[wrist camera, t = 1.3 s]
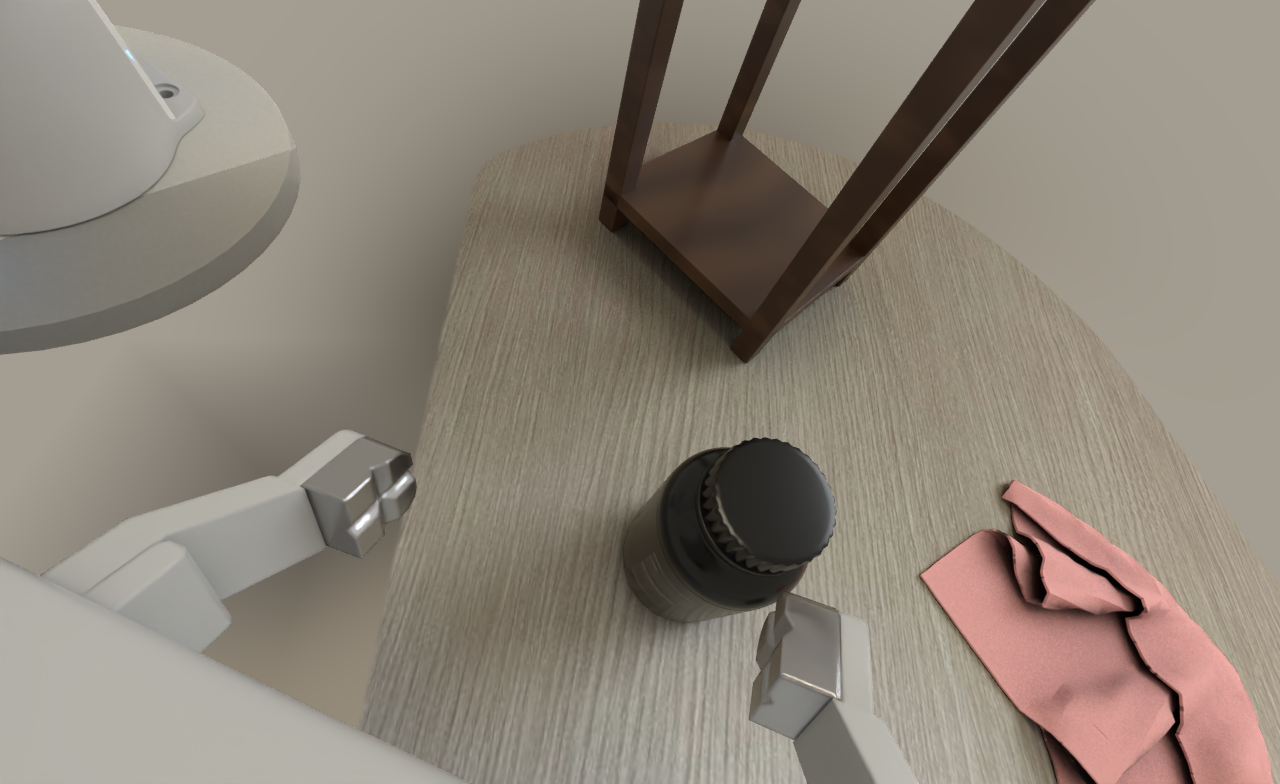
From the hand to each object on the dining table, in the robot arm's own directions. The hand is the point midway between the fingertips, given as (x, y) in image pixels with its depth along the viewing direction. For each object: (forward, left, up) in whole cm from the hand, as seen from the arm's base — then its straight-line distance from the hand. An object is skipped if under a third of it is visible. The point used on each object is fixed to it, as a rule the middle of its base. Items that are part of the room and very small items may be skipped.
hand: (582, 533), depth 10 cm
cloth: (+24, +23, -18) cm, 38 cm away
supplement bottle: (+3, +7, -18) cm, 19 cm away
